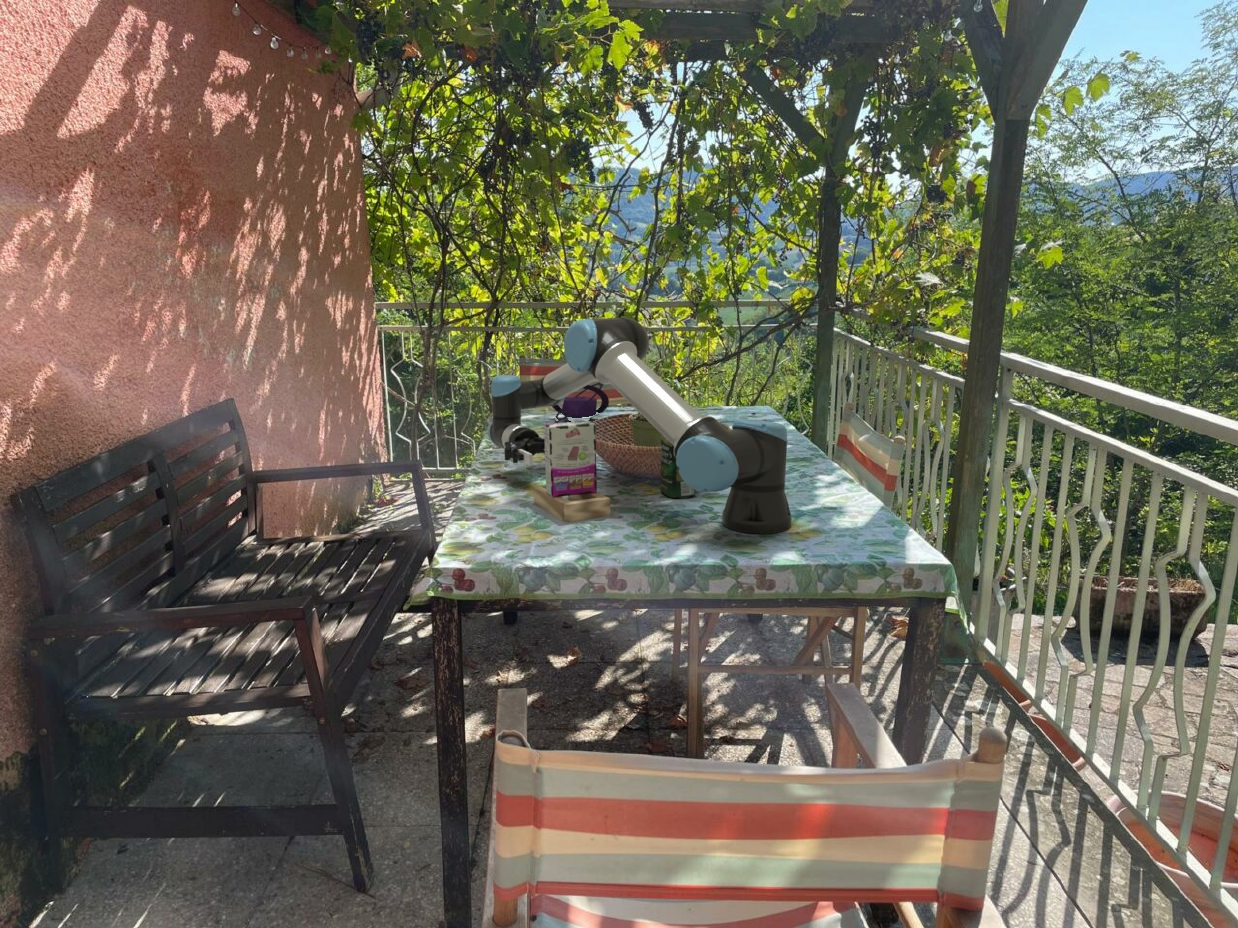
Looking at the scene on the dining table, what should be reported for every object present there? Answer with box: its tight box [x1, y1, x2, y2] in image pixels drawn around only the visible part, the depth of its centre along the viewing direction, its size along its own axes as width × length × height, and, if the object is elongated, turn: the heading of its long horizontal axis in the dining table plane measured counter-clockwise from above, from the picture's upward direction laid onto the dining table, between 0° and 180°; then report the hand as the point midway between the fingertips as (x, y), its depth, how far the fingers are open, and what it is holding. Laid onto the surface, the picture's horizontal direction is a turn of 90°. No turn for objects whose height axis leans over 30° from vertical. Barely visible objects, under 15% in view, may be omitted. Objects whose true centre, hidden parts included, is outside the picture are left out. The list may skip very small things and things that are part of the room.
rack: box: [533, 486, 611, 522], centre depth 196 cm, size 11×18×4 cm, turn 30°
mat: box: [522, 497, 624, 527], centre depth 196 cm, size 16×20×1 cm
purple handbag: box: [551, 382, 610, 422], centre depth 310 cm, size 22×21×25 cm
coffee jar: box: [659, 433, 697, 499], centre depth 209 cm, size 10×8×19 cm
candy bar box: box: [543, 420, 598, 497], centre depth 194 cm, size 11×5×16 cm, turn 112°
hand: (557, 456), depth 199 cm, fingers open, 13 cm apart
